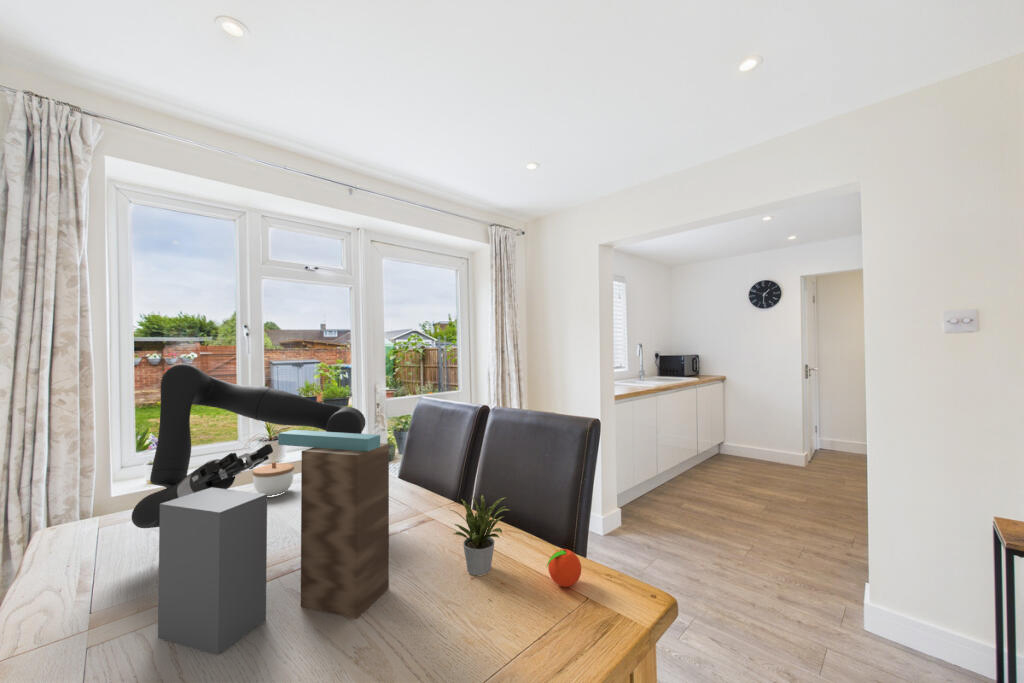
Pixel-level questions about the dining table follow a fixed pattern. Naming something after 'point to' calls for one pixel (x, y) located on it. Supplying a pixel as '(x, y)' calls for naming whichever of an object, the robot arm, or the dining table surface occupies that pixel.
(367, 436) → the block
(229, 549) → the block
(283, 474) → the lidded bowl
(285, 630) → the dining table surface
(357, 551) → the stand
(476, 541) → the house plant
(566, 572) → the clementine
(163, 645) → the dining table surface
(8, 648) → the dining table surface
